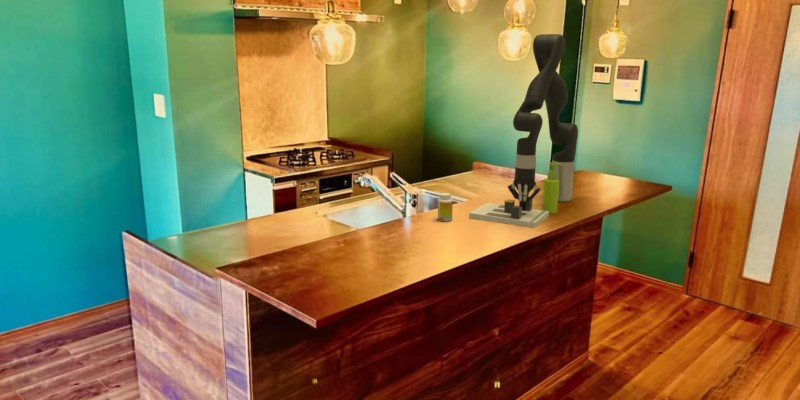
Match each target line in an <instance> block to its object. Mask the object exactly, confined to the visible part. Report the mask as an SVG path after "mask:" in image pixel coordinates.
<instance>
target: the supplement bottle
mask: <svg viewBox="0 0 800 400" xmlns="http://www.w3.org/2000/svg"><path fill="white" fill-rule="evenodd" d="M451 197H452V195H451V193H448V192H441V193H440V194H439V198H438V199H437V220H438V221H440V222H445V223H446V222H451V221H452V220H453V199H452V198H451Z"/></svg>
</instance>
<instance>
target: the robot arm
mask: <svg viewBox="0 0 800 400" xmlns="http://www.w3.org/2000/svg"><path fill="white" fill-rule="evenodd" d="M565 49H566V40H565V37H564V35H562V34H559V33H548V34H547V33H545V34H544V33H542V34H538V35H536V36H535V37H534V39H533V42H532V51H533V56H534V60H535V62H536V65H537V68H538V69H537V70H538V73H537V75H535V76H534V78H533V79H532V80H531V81H530V83H529V85H528V87H527V90H526V92H525V93H526V94H525V96H524V100H523V102H522V103H521V105H520V106H519V108H518V110H516V113H515V114H514V117H513V121H512V126H513V128H514V130H516V131H517V132H526V133H529V134H528V136H527V137H520V138H518V140H517V141H516V155H515V156H516V157H515V163H514V179H513V181H512V183H511V184H509V185H507V189H508V190H509V192H510V193H511V195H512V196H513V198H514V200H518V203H519V205H518V206H522V211H525V210H526V209H527V205H528V201H530V200H532V199H534V198H535V197H536V196H537V195H538V194H539V193H540V191H542V188H541V187H539V186H538V185H536V184H537V182H536V166H537V163H536V162H537V158H536V157H537V156H536V153H537V144H538V143H537V142H538V139H539V137H540V136H539V135H540V133H541V130H542V127H543V124H544V123H543V122H544V121H543V117H542V115H541V114H540V113H536V112H534V111H539V110H540V109H542V108H543V106H544V102H545V108H546V113H547V119H548V129H549V131H548V132H549V138H550V141H551V143H552V144H555V145H562V146H565V148H564V150H561V151H558V152H557V151H556V152H555V153H553V154H552V157H551V159H552V160H551V161H552V162H551V163H561V164H563V166H561V165H555V171H557V176H556V179H558V180H559V194H558V202H570V201H572V196H573V184H574V172H575V158H576V153H577V144H578V136H579V127H578V125H577V124H575V123H568V122H567V123H566V122H561V121H560V114H561V112H562V110H563V109H564V108H565V107H566V105H567V102H568V99H569V95H568V94H569V93H568V89H567V84H566V81H565V79H563V77H562V76H561V75H560V74H559V72H557V69H558V67H559V65H560V63H561V60H562V58H563V56H564V53H565ZM532 191H533V193H531V195H530V192H532ZM532 201H533V200H532Z"/></svg>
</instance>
